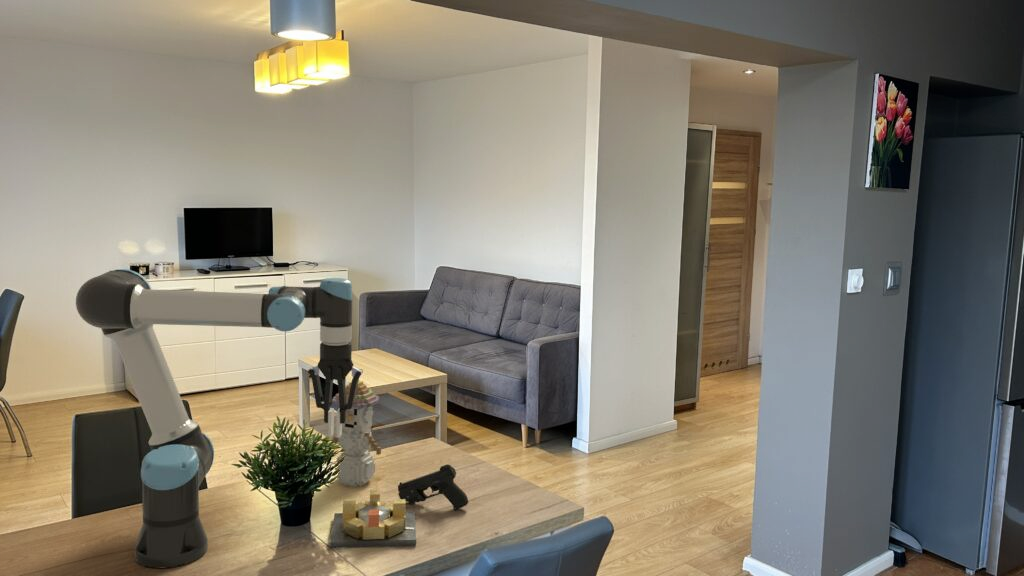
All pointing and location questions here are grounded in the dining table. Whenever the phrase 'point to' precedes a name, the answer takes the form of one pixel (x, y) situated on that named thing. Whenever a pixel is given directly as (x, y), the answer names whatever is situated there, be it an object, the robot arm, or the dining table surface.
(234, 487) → the dining table surface
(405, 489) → the handgun
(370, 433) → the toy
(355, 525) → the ring nut
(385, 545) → the base plate
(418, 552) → the dining table surface
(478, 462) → the dining table surface
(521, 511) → the dining table surface
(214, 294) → the robot arm
